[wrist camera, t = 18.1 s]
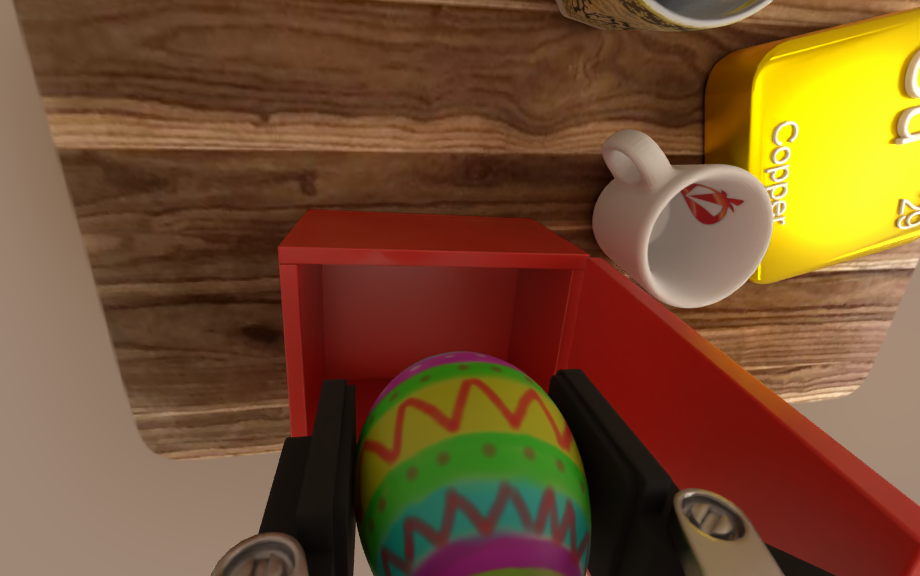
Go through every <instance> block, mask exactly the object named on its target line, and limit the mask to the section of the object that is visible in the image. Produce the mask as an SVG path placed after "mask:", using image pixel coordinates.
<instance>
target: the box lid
mask: <svg viewBox="0 0 920 576" xmlns="http://www.w3.org/2000/svg"><path fill="white" fill-rule="evenodd" d="M567 369H581V370H582V371H583V372H584V373H585V375H586V376H587V377H588V378H589V379H590V381H591V382H592V383H593V384H594V385H595V387H596V388H597V389H598V390H599V391H600V393H601V394H602V395H603V396H604V397H605V399H606V400H607V401H608V402H609V403H610V405H611V406H612V407H613V408H614V409H615V411H616V412H617V413H618V414H619V415H620V417H621V418H622V419H623V420H624V421H625V423H626V424H627V425H628V426H629V427H630V429H631V430H632V431H633V432H634V434H635V435H636V436H637V437H638V438H639V440H640V441H641V442H642V443H643V444H644V446H645V447H646V448H647V449H648V450H649V452H650V453H651V454H652V455H653V456H654V458H655V459H656V460H657V461H658V462H659V464H660V465H661V466H662V467H663V468H664V470H665V471H666V472H667V473H668V474H669V476H670V477H671V478H672V481H673V482H674V483H675V485H676V486H677V487H678V488H679V490H683V489H686V488H700V489H704V490H709V491H711V492H714V493H716V494H719V495H721V496H723V497H724V498H726V499H728V500H729V501H731V502H733V503H734V504H735V505H736V506H737V507H738V508H740V509H741V510H742V511H743V512H744V513H745V515H746V516H747V517H748V518H749V520H750V521H751V523H752V524H753V526H754V527H755V529H756V531H757V532H758V534H759V535H760V537H761V539H762V540H763V542H764V543H767V544H769V545H771V546H773V547H775V548H777V549H780V550H782V551H784V552H786V553H788V554H790V555H793V556H795V557H797V558H799V559H801V560H803V561H806V562H808V563H810V564H812V565H814V566H816V567H819V568H821V569H823V570H825V571H827V572H829V573H832V574H834V575H836V576H920V506H918V505H917V504H916V503H915V502H914V501H912V500H911V499H910V498H908V497H907V496H906V495H905V494H903V493H902V492H901V491H899V490H898V489H897V488H896V487H894V486H893V485H892V484H890V483H889V482H888V481H887V480H885V479H884V478H883V477H881V476H880V475H879V474H878V473H876V472H875V471H874V470H873V469H871V468H870V467H869V466H867V465H866V464H865V463H864V462H862V461H861V460H860V459H858V458H857V457H856V456H854V455H853V454H852V453H851V452H849V451H848V450H847V449H846V448H844V447H843V446H842V445H841V444H839V443H838V442H837V441H835V440H834V439H833V438H832V437H830V436H829V435H828V434H826V433H825V432H824V431H822V430H821V429H820V428H819V427H817V426H816V425H815V424H814V423H812V422H811V421H810V420H808V419H807V418H806V417H805V416H803V415H802V414H801V413H799V412H798V411H797V410H796V409H794V408H793V407H792V406H791V405H789V404H788V403H787V402H785V401H784V400H783V399H782V398H780V397H779V396H778V395H777V394H775V393H774V392H773V391H771V390H770V389H769V388H768V387H766V386H765V385H764V384H762V383H761V382H760V381H759V380H757V379H756V378H755V377H753V376H752V375H751V374H750V373H748V372H747V371H746V370H745V369H743V368H742V367H741V366H739V365H738V364H737V363H736V362H734V361H733V360H732V359H730V358H729V357H728V356H727V355H725V354H724V353H723V352H721V351H720V350H719V349H718V348H716V347H715V346H714V345H713V344H711V343H710V342H709V341H707V340H706V339H705V338H704V337H702V336H701V335H700V334H698V333H697V332H696V331H695V330H693V329H692V328H691V327H689V326H688V325H687V324H686V323H684V322H683V321H682V320H680V319H679V318H678V317H677V316H675V315H674V314H673V313H672V312H670V311H669V310H668V309H666V308H665V307H664V306H663V305H661V304H660V303H659V302H657V301H656V300H655V299H654V298H652V297H651V296H650V295H648V294H647V293H646V292H645V291H643V290H642V289H641V288H640V287H638V286H637V285H636V284H634V283H633V282H632V281H631V280H629V279H628V278H627V277H625V276H624V275H623V274H622V273H620V272H619V271H618V270H616V269H615V268H614V267H613V266H611V265H610V264H609V263H608V262H606V261H605V260H604V259H602V258H593V257H588V258H587V261H586V266H585V272H584V277H583V283H582V288H581V294H580V299H579V305H578V310H577V316H576V321H575V327H574V332H573V338H572V343H571V349H570V354H569V359H568V365H567ZM586 572H587V574H588V576H591V575H590V573H589V571H588V569H587V571H586Z"/></svg>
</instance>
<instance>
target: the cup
mask: <svg viewBox="0 0 920 576" xmlns="http://www.w3.org/2000/svg"><path fill="white" fill-rule="evenodd" d="M602 155H603V158H604V161H605V163H606V165H607V166H608V168H609V170H610V171H611V173H612V175H613V176H614V179H613V180H612V181H611V182H610V183H609V184H608V185H607V186H606V187H605V188H604V190H603V191H602V193H601V194H600V196H599V198H598V200H597V202H596V205H595V208H594V212H593V219H592V225H593V232H594V236H595V238H596V241H597V243H598V245H599V246H600V248H601V249H602V251H603V252H604V253H605V254H606V255H607V256H608V257H609V258H610V259H611V260H612V261H613V262H615V263H616V264H617V265H618V266H619V267H620V268H621V269H623V270H624V271H625V272H626V273H627V274H628V275H629V276H631V277H632V278H633V279H634V280H635V281H636V282H638V283H639V284H640V285H641V286H642V287H643V288H644V289H646V290H647V291H648V292H649V293H650V294H651V295H653V296H654V297H655V298H657V299H658V300H660V301H661V302H664V303H666V304H668V305H671V306H675V307H680V308H696V307H702V306H706V305H710V304H713V303H715V302H717V301H720V300H722V299H724V298H725V297H727V296H729V295H730V294H732V293H733V292H734V291H736V290H737V289H738V288H740V287H741V286H742V285H743V284H744V283H745V282H746V281H747V280H748V279H749V278H750V276H751V275H752V274H753V273H754V272H755V270H756V269H757V267H758V266H759V264H760V263H761V261H762V259H763V257H764V255H765V253H766V251H767V249H768V246H769V242H770V239H771V236H772V229H773V209H772V204H771V200H770V197H769V195H768V193H767V190H766V189H765V187H764V186H763V184H762V183H761V182H760V181H759V180H758V179H757V178H756V177H755V176H754V175H753V174H751V173H750V172H748V171H746V170H744V169H742V168H739V167H736V166H731V165H725V164H699V165H670V163H669V161H668V160H667V158H666V156H665V155H664V153H663V152H662V150H661V149H660V147H659V146H658V145H657V144H656V143H655V142H654V140H652V139H651V138H650V137H649V136H647V135H646V134H644V133H642V132H640V131H637V130H633V129H625V130H621V131H618V132H616V133H615V134H613V135H612V136H610V137H609V138H608V139H607V140H606V141H605V142H604V144H603V146H602Z"/></svg>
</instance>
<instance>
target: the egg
mask: <svg viewBox="0 0 920 576" xmlns="http://www.w3.org/2000/svg"><path fill="white" fill-rule="evenodd" d="M353 503H354V512H355V518H356V523H357V528H358V532H359V536H360V540H361V544H362V547H363V550H364V553H365V556H366V558H367V561H368V563H369V566H370V568H371V571H372V573H373V575H374V576H586V571H587V566H588V561H589V554H590V544H591V508H590V497H589V490H588V484H587V479H586V475H585V470H584V466H583V463H582V459H581V456H580V453H579V450H578V448H577V445H576V442H575V440H574V437H573V435H572V433H571V431H570V429H569V427H568V425H567V423H566V421H565V419H564V417H563V416H562V414H561V412H560V411H559V409H558V408H557V406H556V405H555V404H554V402H553V401H552V400H551V398H550V397H549V396H548V395H547V394H546V392H545V391H544V390H543V389H542V388H541V387H540V386H539V385H538V384H537V383H536V382H535V381H534V380H533V379H531V378H530V377H529V376H528V375H526V374H525V373H524V372H522V371H521V370H519V369H518V368H516V367H515V366H513V365H511V364H509V363H507V362H505V361H503V360H501V359H498V358H496V357H493V356H490V355H486V354H482V353H476V352H463V351H459V352H448V353H442V354H438V355H434V356H431V357H428V358H425V359H423V360H421V361H419V362H417V363H415V364H413V365H412V366H410V367H408V368H407V369H405V370H404V371H403V372H401V373H400V374H399V375H397V376H396V377H395V378H394V379H393V380H392V381H391V382H390V383H389V384H388V385H387V386H386V388H385V389H384V390H383V391H382V392H381V394H380V395H379V396H378V398H377V399H376V401H375V402H374V404H373V406H372V407H371V409H370V411H369V413H368V415H367V417H366V419H365V422H364V424H363V427H362V429H361V433H360V436H359V439H358V443H357V447H356V452H355V458H354V466H353Z"/></svg>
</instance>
